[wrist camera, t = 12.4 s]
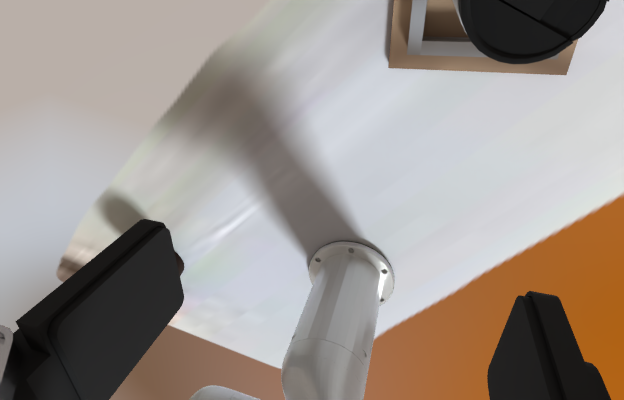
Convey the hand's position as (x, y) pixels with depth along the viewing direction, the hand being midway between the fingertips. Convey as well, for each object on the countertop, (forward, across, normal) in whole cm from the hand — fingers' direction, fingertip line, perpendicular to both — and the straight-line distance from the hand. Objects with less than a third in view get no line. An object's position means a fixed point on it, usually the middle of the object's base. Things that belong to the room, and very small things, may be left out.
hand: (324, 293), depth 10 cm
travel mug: (+33, -6, -8) cm, 34 cm away
